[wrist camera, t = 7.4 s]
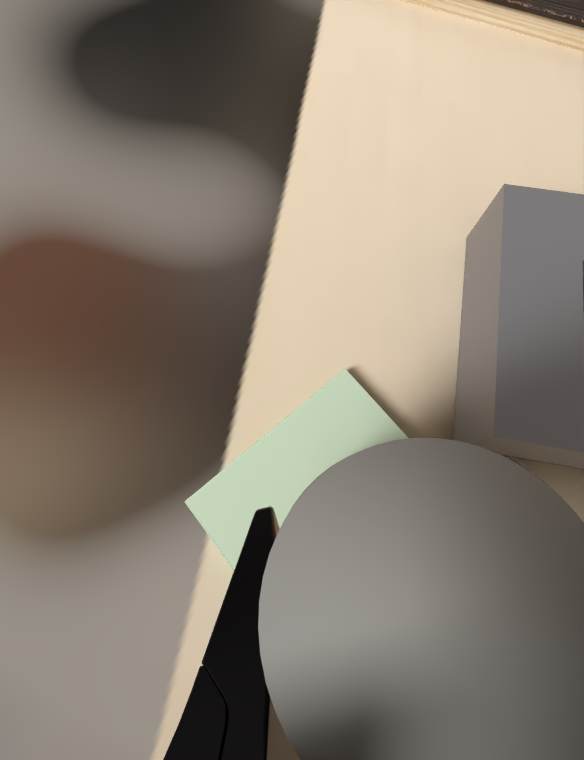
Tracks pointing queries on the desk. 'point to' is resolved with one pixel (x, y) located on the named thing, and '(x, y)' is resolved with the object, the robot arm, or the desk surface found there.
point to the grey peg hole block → (524, 328)
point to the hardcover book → (522, 17)
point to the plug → (427, 610)
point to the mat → (290, 461)
